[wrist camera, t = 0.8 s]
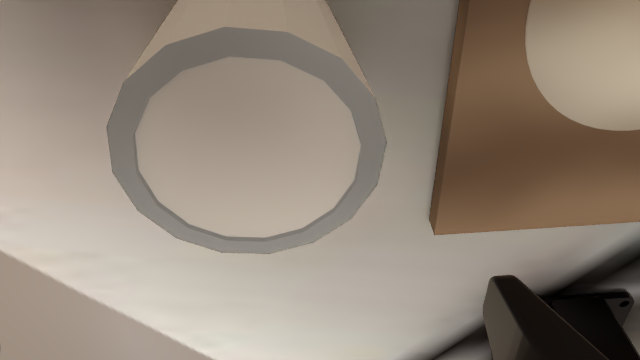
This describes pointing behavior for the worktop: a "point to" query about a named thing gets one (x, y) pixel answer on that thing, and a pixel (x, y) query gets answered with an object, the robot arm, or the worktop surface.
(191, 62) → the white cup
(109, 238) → the worktop surface
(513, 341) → the robot arm
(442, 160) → the serving board
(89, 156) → the worktop surface
